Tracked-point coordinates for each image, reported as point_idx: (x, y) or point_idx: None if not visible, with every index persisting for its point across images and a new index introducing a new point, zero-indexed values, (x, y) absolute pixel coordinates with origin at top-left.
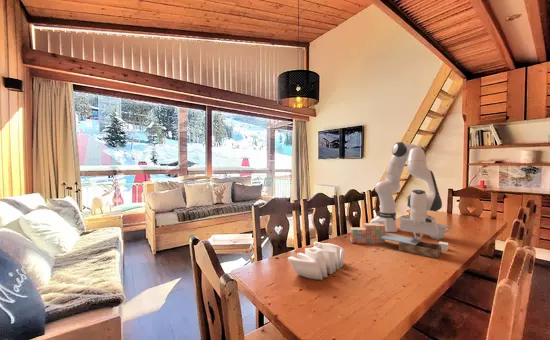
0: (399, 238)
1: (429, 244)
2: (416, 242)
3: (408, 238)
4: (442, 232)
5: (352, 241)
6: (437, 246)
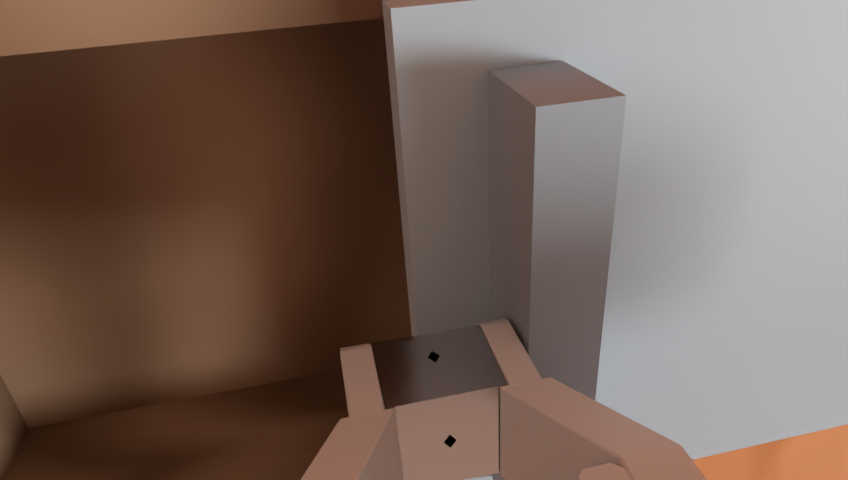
0: None
1: None
2: (428, 226)
3: (687, 396)
4: None
5: None
6: None
